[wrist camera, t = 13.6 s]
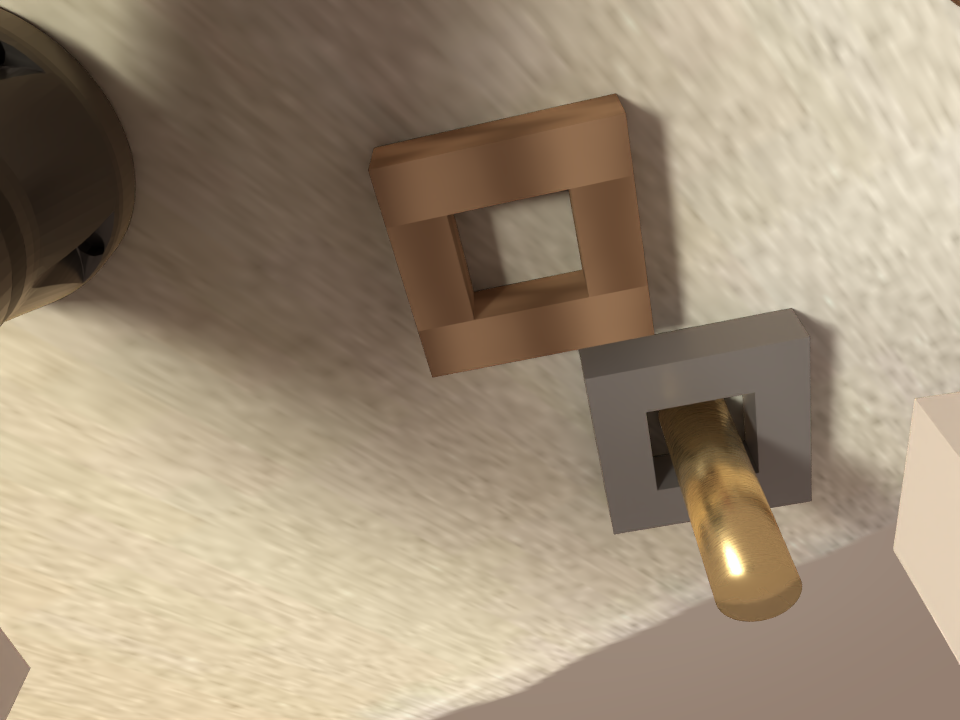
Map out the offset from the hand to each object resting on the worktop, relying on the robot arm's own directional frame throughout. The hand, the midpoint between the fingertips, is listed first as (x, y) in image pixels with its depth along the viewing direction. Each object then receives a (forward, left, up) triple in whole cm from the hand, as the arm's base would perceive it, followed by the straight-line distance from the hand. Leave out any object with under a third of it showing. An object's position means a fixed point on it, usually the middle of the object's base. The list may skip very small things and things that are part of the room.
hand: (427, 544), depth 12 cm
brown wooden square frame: (+1, -11, -33) cm, 34 cm away
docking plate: (+9, -25, -33) cm, 42 cm away
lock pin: (+9, -25, -33) cm, 42 cm away
